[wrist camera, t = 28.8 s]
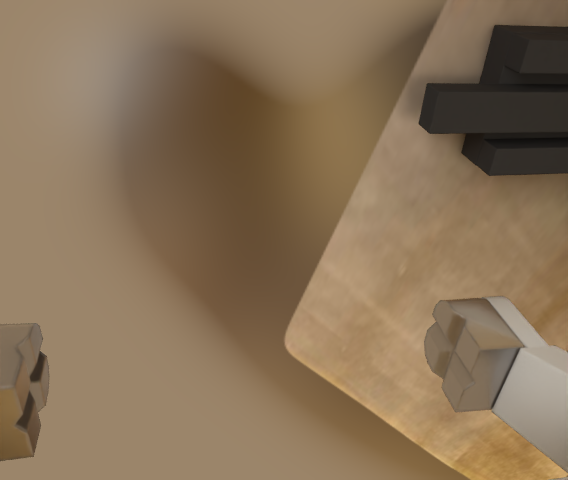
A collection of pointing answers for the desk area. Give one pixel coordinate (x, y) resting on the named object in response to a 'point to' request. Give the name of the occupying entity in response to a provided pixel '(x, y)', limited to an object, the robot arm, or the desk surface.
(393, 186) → the desk surface
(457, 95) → the pad strip
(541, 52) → the dock pad
